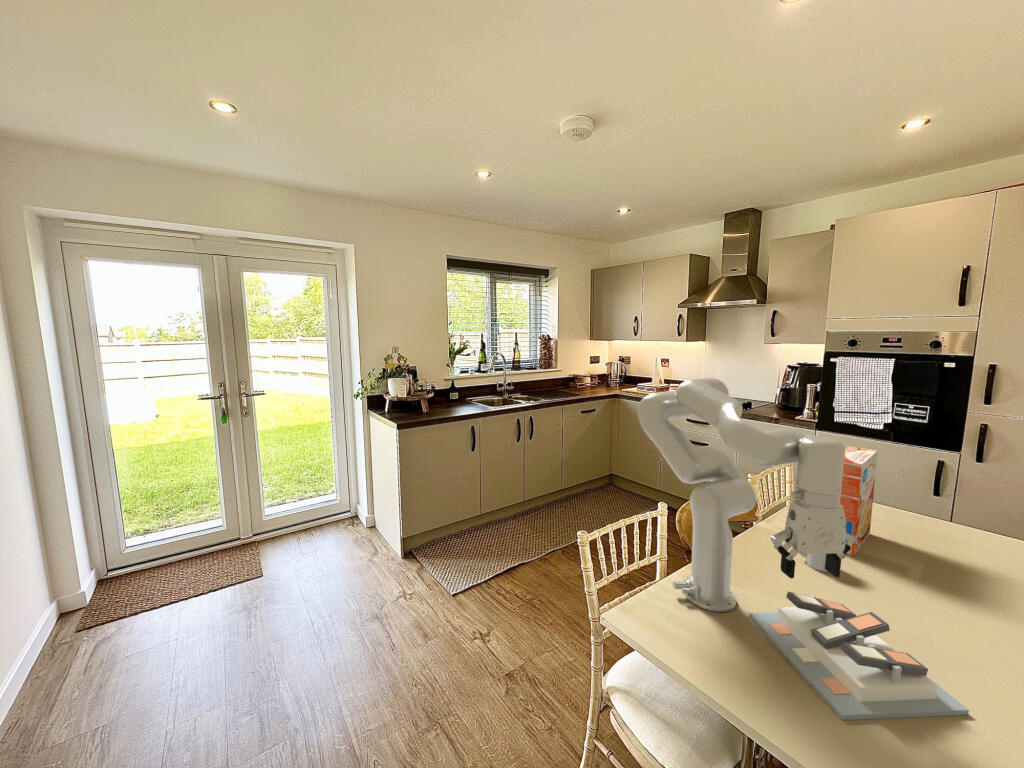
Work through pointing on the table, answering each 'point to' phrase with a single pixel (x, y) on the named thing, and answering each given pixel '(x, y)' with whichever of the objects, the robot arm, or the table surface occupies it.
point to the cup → (816, 561)
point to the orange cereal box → (858, 493)
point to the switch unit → (852, 671)
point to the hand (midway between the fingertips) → (809, 574)
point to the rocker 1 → (819, 605)
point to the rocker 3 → (883, 658)
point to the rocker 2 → (849, 630)
